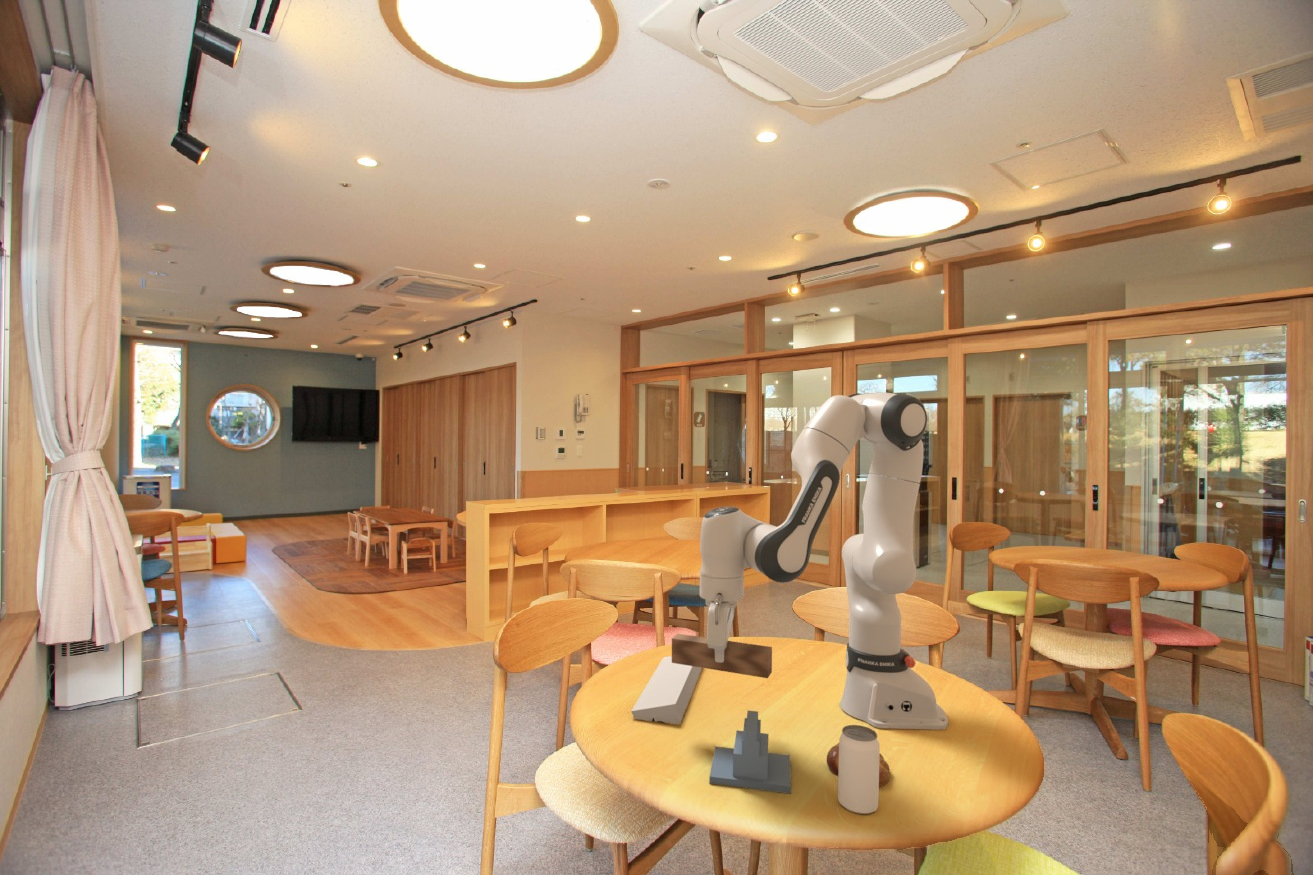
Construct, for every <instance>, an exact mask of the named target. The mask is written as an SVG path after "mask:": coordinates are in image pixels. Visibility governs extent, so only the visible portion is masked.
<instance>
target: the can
mask: <svg viewBox="0 0 1313 875" xmlns="http://www.w3.org/2000/svg"><path fill="white" fill-rule="evenodd" d="M841 731H842V732H841V735H840V736H839V738H838V739H839V742H838V743H839V771H838V775H837V776H838V781H837V782H838V783H837V785H838V787H837V799H838V802H839V803H840V805H841V806H842V807H843V808H844V809H845V810H847V811H849V812H851V813H854V814H858V815H870V814H873V813H875V812H876V811H877V810H878V808H879V791H880V790H879V789H880V788H879V787H880V786H879V759H880V754H881V753H880V751H881V750H880V748H881V747H880V745H881V744H880V741H879V740H878V734H877V732H876V731H875V730H874V729H873V728H870V727H868V726H865V725H861V724H859V725H858V724H850V725H848V724H847V725H845V726H844V727H842V729H841Z"/></svg>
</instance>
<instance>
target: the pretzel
mask: <svg viewBox="0 0 1313 875" xmlns="http://www.w3.org/2000/svg"><path fill="white" fill-rule="evenodd" d="M826 765H827V767H828V768H829V770H830V771H831V773H833V774H834V775H837V776H838V771H839V742H838V743H837V744H835V745H833V746H832V747H831V748H830V749H829V750H828V752H827V754H826ZM889 773H890V765H889V763H888V762H886V760H885V758H884V756H883V755H882V754H881V753H880V759H879V787H883V786H885V785H886V784H887V783H888V782H889V779H890V775H889Z"/></svg>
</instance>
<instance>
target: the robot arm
mask: <svg viewBox="0 0 1313 875" xmlns="http://www.w3.org/2000/svg"><path fill="white" fill-rule="evenodd" d="M927 422H928V416H927V410H926V408H925V405H924V403H923V402H922V400H920V399H919V398H917V397H915V396H912V395H909V394H905V393H893V392H892V393H890V392H884V391H883V392H882V391H879V392H877V391H876V392H871V393H870V392H869V393H859V392H858V393H852V394H849V395H844V394H843V395H842V394H837V395H836V394H835V395H833V396H831V397H829V398H828V399H826V401H824V402H823V403H822V404H821V405H820V407H818V408H817V410H816V411H815V412H814V413H813V414H812V416H811V417H810V419H809V420H808V421H807V423H806V424H805V425H804V427H803V429H802V430H801V432H800V434H799V435H798V437H797V439H796V440H795V442H794V444H793V447H792V450H791V453H790V458H791V463H792V466H793V468H794V470H795V472H796V473H797V474H798V476H800V478H801V487H800V488H801V489H800V491H799V493H798V495H797V497H796V499H795V501H794V503H793V505H792V507H791V509H790V511H789V512H788V514H787V517H786V519H785V520H784V521H783V522H782V523H781V524H780V525H778V526H775V525H773V524H770V523H767V522H765V521H761V520H759V519H756V518H754V517H752V516H750V515H748V514H746V513H744V511H742V510H741V509H740V508H739V507H736V506H720V507H717V508H713V509H711V510H709V511H707V512H706V513H705V514H704V515H703V518H702V521H701V528H700V537H699V553H700V557H701V566H700V569H699V597H700V598H701V599H703V600H705V605H706V606H707V607H708V611H707V626H706V628H707V630H706V631H707V633H706V638H707V645H708V647H709V648H713V649H714V651H715V661H716V662H720V663H722V662H724V658H725V651H724V650H725V648H726V646H727V642H728V641H729V638H730V634H731V629H732V626H733V620H734V617H735V610H736V607H737V606H738V601H741V600H743V599H744V589H745V588H744V574H745V569H749V568H750V569H751V568H752V569H753V570H756V571H758V572H760V573H761V574H763V575H764V576H766V578H768V579H769V580H771V581H773V582H777V583H780V584H781V583H782V584H784V583H789V582H792V581H795V580H797V578H799V577H800V576H801V575H802V574H803V573H805V570H806V569H807V567H808V564H809V561H810V558H811V553H812V547H813V543H814V540H815V538H816V535H817V533H818V530H819V528H820V527H821V524H822V523H823V520H824V519H825V516H826V514H827V512H828V511H829V510H828V509H829V508H830V506H831V504H832V501H833V499H834V497H835V495H836V492H837V491H838V490H837V489H838V487H839V484H840V476H841V472H842V470H843V468H844V466H845V464H846V462H847V460H848V459H849V457H850V455H851V453H852V452H853V450H854V448H855V446H856V445H857V443H858V441H862V442H863V441H864V442H869V443H872V444H873V445H872V446H873V450H874V454H873V457H872V460H871V464H870V467H869V472H868V476H867V481H866V485H865V490H864V493H863V494H864V495H863V499H862V500H863V501H862V505H861V509H862V513H863V533H858V534H854V535H852V536H850V537H849V538H848V539H846V540H845V542H844V544H843V546H842V548H841V559H842V561H843V565H844V574H845V586H846V593H847V599H848V607H849V608H848V609H849V612H848V614H849V618H848V620H849V621H848V623H849V624H848V627H849V628H848V643H847V644H846V650H845V668H846V677H845V678H846V679H845V685H844V688H843V693H842V697H841V700H840V703H839V707H840V708H841V709H842V711H844V712H845V713H846V714H847V715H849V716H851V717H854V718H855V719H858V720H861V721H864V722H865V723H867V724H869V725H871V726H873V727H874V728H877V729H898V730H899V729H902V730H903V729H905V730H907V729H908V730H945V729H947V728H948V727H949V718H948V716H947V713H946V711H945V710H944V709H943V708H942V707H941V706H940V705H939V704H938V703H937V698H936V695H935V692H934V690H933V688H932V686H931V685H930V684H929V683H928V682H927V681H926V680H925V679H924V678H923V677H921V676H920V675H919V674H918V673H917V672H915V671H914V670H913V668H915V666H916V660H915V659H914V658H913V657H912V656H910V654H909V653H908V651H906V650H905V649H904V648H901V645H902V644H901V643H902V642H901V640H902V639H901V638H902V637H901V636H902V631H901V630H902V614H901V611H900V608H899V604H898V601H897V596H896V595H898V594H903V593H905V592H907V591H908V590H909V589H910V588H911V587H912V586H913V585H914V583H915V581H916V579H917V565H916V563H915V559H914V545H913V543H914V537H913V533H914V531H913V530H914V529H913V528H914V516H915V509H916V505H917V499H918V495H919V490H920V485H921V479H922V475H923V465H924V443H923V441H922V437H923V436H924V433H925V431H926V427H927V425H928V424H927Z"/></svg>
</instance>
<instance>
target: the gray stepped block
mask: <svg viewBox="0 0 1313 875" xmlns="http://www.w3.org/2000/svg"><path fill="white" fill-rule="evenodd" d="M761 721H762V720H761V719H759V711H756V710H747V714H746V717H744V722H743V729H742V730H738V729H737V730H736V733H735V740H734V747H733V748H732V747H722V746H714V751H713V752H714V753H713V757H712V761H711V766H710V767H711V768H710V772H709V781H708V782H709V784H711V783H712V784H713V785H720V786H726V787H727V786H728V787H735V788H744V789H752V790H759V791H767V792H773V793H782V794H783V793H784V794H791V793H792V792H791V791H792V782H791V780H792V779H791V778H792V777H791V758H790V754H786V753H785V754H784V753H775V752H769V733H765V732H764V733H763V732H761V726H762V725H761V724H762V722H761Z"/></svg>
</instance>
